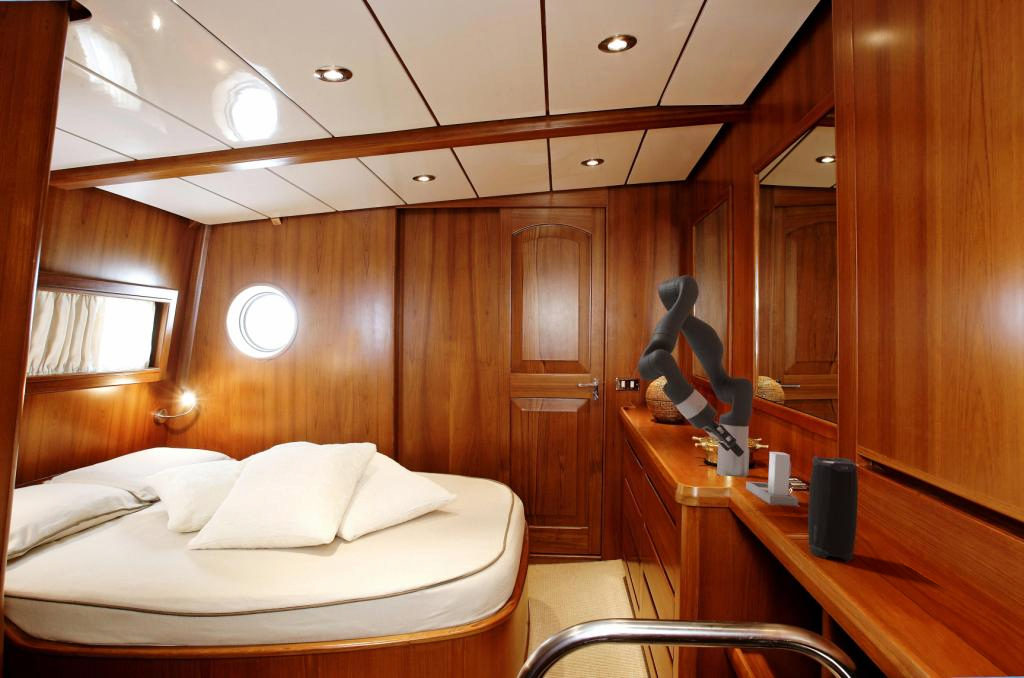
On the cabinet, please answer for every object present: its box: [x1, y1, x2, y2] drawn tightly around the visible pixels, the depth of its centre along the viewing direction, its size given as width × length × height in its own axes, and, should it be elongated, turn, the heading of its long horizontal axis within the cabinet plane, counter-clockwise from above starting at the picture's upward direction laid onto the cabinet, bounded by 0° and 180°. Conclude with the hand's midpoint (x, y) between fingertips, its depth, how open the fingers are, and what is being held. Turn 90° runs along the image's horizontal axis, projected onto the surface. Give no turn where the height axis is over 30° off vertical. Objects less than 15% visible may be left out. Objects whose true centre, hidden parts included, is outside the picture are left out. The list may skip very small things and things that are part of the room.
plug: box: [767, 451, 792, 496], centre depth 151 cm, size 4×4×13 cm
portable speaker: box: [807, 455, 859, 562], centre depth 112 cm, size 9×9×20 cm
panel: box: [744, 481, 800, 507], centre depth 155 cm, size 8×18×3 cm, turn 178°
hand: (735, 451), depth 153 cm, fingers open, 8 cm apart
